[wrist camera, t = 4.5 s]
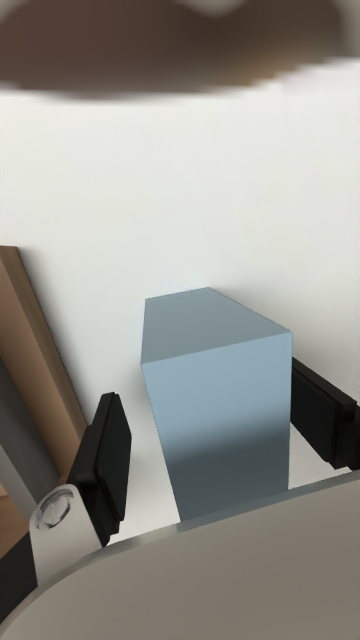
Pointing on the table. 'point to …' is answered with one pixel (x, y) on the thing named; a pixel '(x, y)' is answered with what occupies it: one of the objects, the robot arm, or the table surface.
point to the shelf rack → (30, 405)
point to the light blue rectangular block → (218, 398)
